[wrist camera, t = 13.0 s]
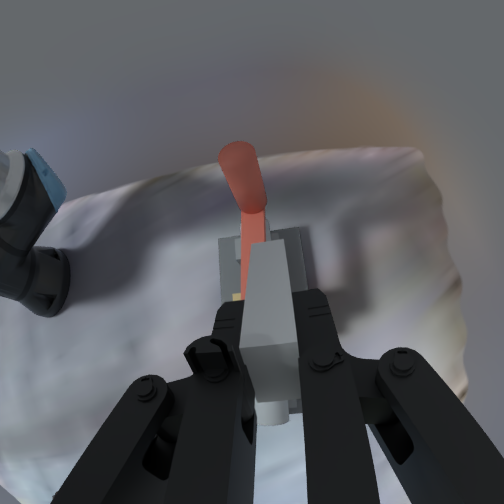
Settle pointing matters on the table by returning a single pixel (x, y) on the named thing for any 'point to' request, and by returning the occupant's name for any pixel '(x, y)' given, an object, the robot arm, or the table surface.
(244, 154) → the lever
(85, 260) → the table surface
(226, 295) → the valve base
